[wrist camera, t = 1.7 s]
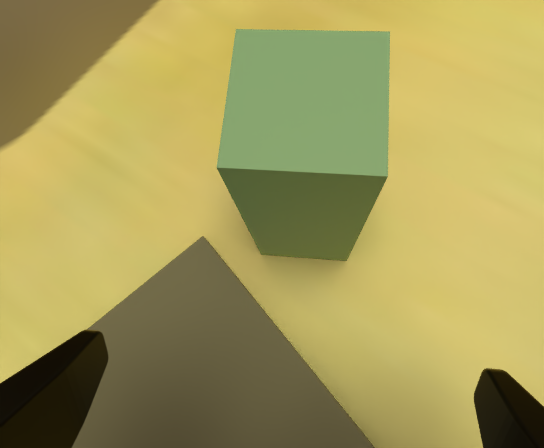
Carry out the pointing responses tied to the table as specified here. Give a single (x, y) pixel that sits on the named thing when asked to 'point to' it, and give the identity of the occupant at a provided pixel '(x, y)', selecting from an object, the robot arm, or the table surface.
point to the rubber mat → (206, 370)
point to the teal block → (306, 137)
